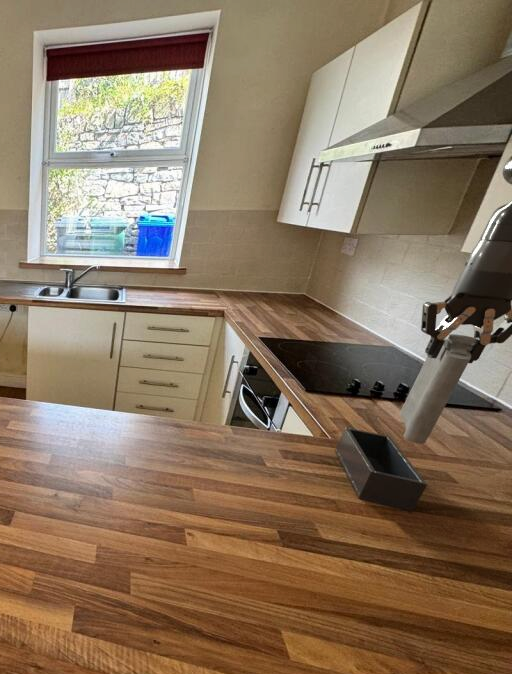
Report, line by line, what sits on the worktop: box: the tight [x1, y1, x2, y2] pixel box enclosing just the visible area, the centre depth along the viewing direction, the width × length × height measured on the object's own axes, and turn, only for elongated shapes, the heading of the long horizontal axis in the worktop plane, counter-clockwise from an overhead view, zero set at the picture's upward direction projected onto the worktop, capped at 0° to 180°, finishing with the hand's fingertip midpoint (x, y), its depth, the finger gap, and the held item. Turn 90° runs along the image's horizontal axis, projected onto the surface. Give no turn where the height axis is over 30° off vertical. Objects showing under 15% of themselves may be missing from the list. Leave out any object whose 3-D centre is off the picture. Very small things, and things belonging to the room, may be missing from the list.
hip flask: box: [398, 333, 477, 445], centre depth 79 cm, size 16×4×20 cm, turn 140°
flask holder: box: [334, 426, 428, 513], centre depth 89 cm, size 9×21×7 cm, turn 153°
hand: (448, 359), depth 77 cm, fingers closed on hip flask, 4 cm apart
